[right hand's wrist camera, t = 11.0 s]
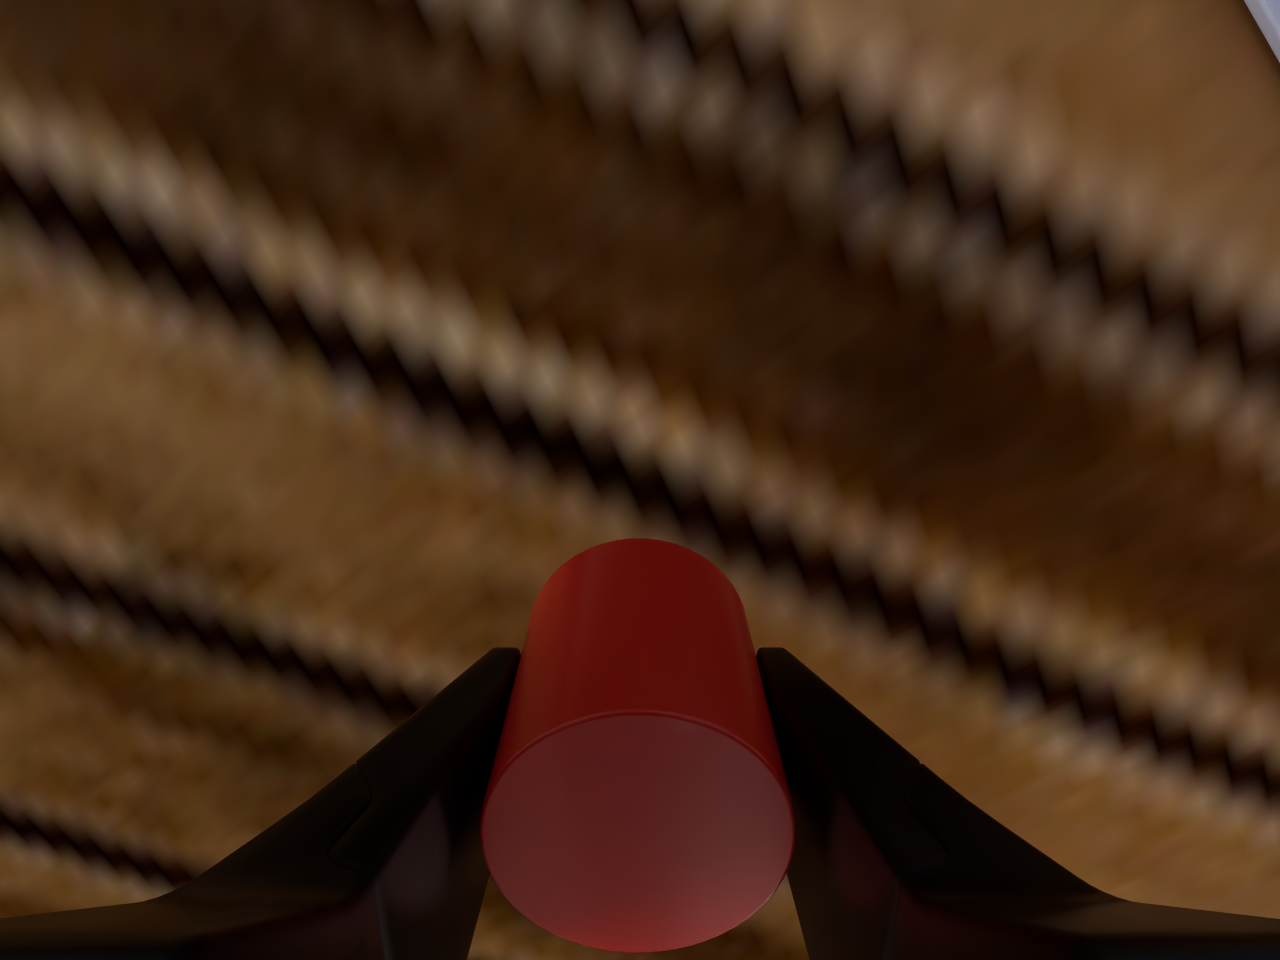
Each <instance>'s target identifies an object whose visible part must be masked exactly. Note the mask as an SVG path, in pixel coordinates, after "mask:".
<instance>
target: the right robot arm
mask: <svg viewBox="0 0 1280 960" xmlns="http://www.w3.org/2000/svg"><path fill="white" fill-rule="evenodd" d="M520 658H521V654H520V651H519V649H518V648H493V649H491V650H490V651H489V652H488V653H486V654H485V655H484V656H483V657H482V658H480V659H479V660H478V661H477V662H476V663H474V664H473V665H472V666H471V667H470V668H468V669H467V670H466V671H465V672H463V673H462V674H461V675H460V676H459V677H457V678H456V679H455V680H454V681H453V682H451V683H450V684H449V685H448V686H447V687H445V688H444V689H443V690H442V691H441V692H439V693H438V694H437V695H436V696H435V697H433V698H432V699H431V700H430V701H428V702H427V703H426V704H425V705H424V706H422V707H421V708H420V709H419V710H418V711H416V712H415V713H414V714H413V715H412V716H410V717H409V718H408V719H407V720H406V721H404V722H403V723H402V724H401V725H400V726H398V727H397V728H396V729H395V730H393V731H392V732H391V733H390V734H389V735H387V736H386V737H385V738H384V739H383V740H381V741H380V742H379V743H378V744H377V745H375V746H374V747H373V748H372V749H371V750H369V751H368V752H367V753H366V754H365V755H363V756H362V757H361V758H360V759H358V760H357V762H356V764H352V765H351V766H350V767H349V768H347V769H346V770H345V771H344V772H343V773H341V774H340V775H339V776H338V777H336V778H335V779H334V780H333V781H331V782H330V783H329V784H328V785H326V786H325V787H324V788H323V789H321V790H320V791H319V792H317V793H316V794H315V795H314V796H312V797H311V798H310V799H309V800H307V801H306V802H304V803H303V804H302V805H300V806H299V807H297V808H296V809H295V810H293V811H292V812H291V813H289V814H288V815H286V816H285V817H284V818H282V819H281V820H279V821H278V822H277V823H275V824H274V825H272V826H271V827H269V828H268V829H266V830H265V831H264V832H262V833H261V834H259V835H258V836H256V837H255V838H253V839H252V840H250V841H249V842H248V843H246V844H245V845H243V846H242V847H240V848H239V849H237V850H236V851H235V852H233V853H232V854H230V855H229V856H227V857H226V858H224V859H223V860H221V861H220V862H219V863H217V864H216V865H214V866H213V867H211V868H210V869H208V870H207V871H205V872H204V873H203V874H201V875H200V876H198V877H197V878H195V879H193V880H192V881H190V882H189V883H187V884H186V885H184V886H182V887H180V888H178V889H176V890H174V891H172V892H170V893H167V894H165V895H162V896H160V897H157V898H154V899H150V900H147V901H143V902H137V903H129V904H121V905H112V906H103V907H95V908H86V909H78V910H69V911H60V912H52V913H43V914H34V915H26V916H17V917H9V918H0V960H467V957H468V953H469V950H470V946H471V942H472V938H473V935H474V931H475V927H476V923H477V920H478V916H479V912H480V908H481V905H482V901H483V897H484V893H485V890H486V886H487V882H488V878H489V875H490V872H489V870H488V868H487V866H486V863H485V860H484V856H483V852H482V849H481V844H480V833H479V826H480V813H481V809H482V805H483V801H484V797H485V794H486V790H487V786H488V782H489V778H490V774H491V770H492V766H493V763H494V759H495V755H496V751H497V747H498V743H499V739H500V735H501V732H502V728H503V724H504V720H505V716H506V712H507V708H508V704H509V701H510V697H511V693H512V689H513V685H514V681H515V677H516V673H517V670H518V666H519V662H520ZM756 659H757V663H758V667H759V671H760V675H761V679H762V683H763V687H764V691H765V695H766V699H767V703H768V707H769V711H770V715H771V719H772V723H773V727H774V731H775V735H776V739H777V743H778V747H779V751H780V755H781V759H782V763H783V767H784V771H785V775H786V779H787V783H788V787H789V791H790V795H791V799H792V803H793V807H794V811H795V816H796V829H797V831H796V841H795V848H794V852H793V855H792V859H791V863H790V866H789V868H788V870H787V876H788V880H789V883H790V887H791V891H792V895H793V899H794V902H795V906H796V910H797V914H798V918H799V921H800V925H801V929H802V933H803V937H804V940H805V944H806V948H807V952H808V955H809V959H810V960H1280V919H1274V918H1265V917H1256V916H1248V915H1239V914H1231V913H1222V912H1214V911H1205V910H1196V909H1188V908H1179V907H1171V906H1162V905H1154V904H1145V903H1137V902H1132V901H1128V900H1124V899H1121V898H1117V897H1115V896H1112V895H1110V894H1107V893H1105V892H1103V891H1101V890H1099V889H1097V888H1095V887H1093V886H1091V885H1089V884H1088V883H1086V882H1085V881H1083V880H1081V879H1080V878H1078V877H1077V876H1075V875H1074V874H1072V873H1071V872H1070V871H1068V870H1067V869H1065V868H1064V867H1062V866H1061V865H1059V864H1058V863H1057V862H1055V861H1054V860H1052V859H1051V858H1049V857H1048V856H1046V855H1045V854H1044V853H1042V852H1041V851H1039V850H1038V849H1036V848H1035V847H1033V846H1032V845H1031V844H1029V843H1028V842H1026V841H1025V840H1023V839H1022V838H1021V837H1019V836H1018V835H1016V834H1015V833H1013V832H1012V831H1010V830H1009V829H1008V828H1006V827H1005V826H1003V825H1002V824H1000V823H999V822H997V821H996V820H995V819H993V818H992V817H991V816H989V815H988V814H986V813H985V812H984V811H982V810H981V809H980V808H978V807H977V806H975V805H974V804H973V803H971V802H970V801H968V800H967V799H966V798H965V797H963V796H962V795H961V794H960V793H958V792H957V791H956V790H954V789H953V788H952V787H951V786H949V785H948V784H947V783H946V782H944V781H943V780H942V779H941V778H939V777H938V776H937V775H936V774H935V773H933V772H932V771H931V770H930V769H929V768H927V767H926V766H925V765H924V764H920V762H919V760H918V759H916V758H915V757H914V756H913V755H912V754H910V753H909V752H908V751H907V750H906V749H904V748H903V747H902V746H901V745H900V744H898V743H897V742H896V741H895V740H894V739H892V738H891V737H890V736H889V735H888V734H886V733H885V732H884V731H883V730H882V729H880V728H879V727H878V726H877V725H876V724H874V723H873V722H872V721H871V720H870V719H868V718H867V717H866V716H865V715H864V714H862V713H861V712H860V711H859V710H858V709H857V708H855V707H854V706H853V705H852V704H851V703H849V702H848V701H847V700H846V699H845V698H843V697H842V696H841V695H840V694H839V693H837V692H836V691H835V690H834V689H833V688H831V687H830V686H829V685H828V684H827V683H825V682H824V681H823V680H822V679H821V678H819V677H818V676H817V675H816V674H815V673H813V672H812V671H811V670H810V669H809V668H807V667H806V666H805V665H804V664H803V663H801V662H800V661H799V660H798V659H797V658H795V657H794V656H793V655H792V654H791V653H789V652H788V651H787V650H786V649H784V648H760V649H758V651H757V654H756Z"/></svg>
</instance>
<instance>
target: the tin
mask: <svg viewBox="0 0 1280 960" xmlns="http://www.w3.org/2000/svg"><path fill="white" fill-rule="evenodd" d="M796 831H797V829H796V816H795V811H794V807H793V803H792V799H791V795H790V791H789V787H788V783H787V779H786V775H785V771H784V767H783V763H782V759H781V755H780V751H779V747H778V743H777V739H776V735H775V731H774V727H773V723H772V719H771V715H770V711H769V707H768V703H767V699H766V695H765V691H764V687H763V683H762V679H761V675H760V671H759V667H758V663H757V659H756V655H755V651H754V647H753V643H752V639H751V635H750V631H749V627H748V623H747V619H746V615H745V611H744V607H743V604H742V602H741V600H740V597H739V595H738V593H737V592H736V590H735V588H734V587H733V585H732V583H731V582H730V581H729V580H728V578H727V577H726V576H725V575H724V574H723V573H722V572H721V571H720V570H719V569H718V568H717V567H716V566H715V565H714V564H712V563H711V562H710V561H708V560H707V559H705V558H704V557H703V556H701V555H699V554H697V553H695V552H693V551H691V550H690V549H687V548H685V547H682V546H679V545H677V544H673V543H669V542H665V541H661V540H653V539H624V540H616V541H612V542H608V543H604V544H600V545H598V546H595V547H592V548H590V549H587V550H586V551H584V552H582V553H580V554H578V555H576V556H574V557H573V558H572V559H570V560H569V561H567V562H566V563H565V564H563V565H562V566H561V567H560V568H559V569H558V570H557V571H556V572H555V573H554V574H553V575H552V576H551V577H550V579H549V580H548V581H547V582H546V583H545V585H544V587H543V588H542V590H541V592H540V593H539V595H538V598H537V600H536V602H535V605H534V608H533V611H532V615H531V619H530V623H529V627H528V631H527V635H526V639H525V642H524V646H523V650H522V654H521V658H520V662H519V666H518V670H517V673H516V677H515V681H514V685H513V689H512V693H511V697H510V701H509V704H508V708H507V712H506V716H505V720H504V724H503V728H502V732H501V735H500V739H499V743H498V747H497V751H496V755H495V759H494V763H493V766H492V770H491V774H490V778H489V782H488V786H487V790H486V794H485V797H484V801H483V805H482V809H481V813H480V826H479V833H480V844H481V849H482V852H483V856H484V860H485V863H486V866H487V868H488V870H489V872H490V875H491V877H492V879H493V880H494V882H495V884H496V885H497V887H498V888H499V890H500V891H501V893H502V894H503V895H504V896H505V897H506V898H507V900H508V901H509V902H510V903H511V904H512V905H513V906H514V907H515V908H516V909H517V910H519V911H520V912H521V913H522V914H523V915H524V916H525V917H527V918H528V919H530V920H531V921H533V922H534V923H536V924H537V925H538V926H540V927H542V928H544V929H546V930H547V931H549V932H551V933H553V934H555V935H557V936H560V937H562V938H565V939H567V940H570V941H572V942H575V943H579V944H582V945H585V946H589V947H593V948H598V949H604V950H609V951H619V952H657V951H667V950H672V949H678V948H683V947H687V946H691V945H694V944H698V943H701V942H704V941H707V940H709V939H711V938H714V937H716V936H719V935H721V934H723V933H725V932H727V931H729V930H730V929H732V928H734V927H736V926H738V925H739V924H740V923H742V922H743V921H745V920H746V919H748V918H749V917H751V916H752V915H753V914H754V913H755V912H756V911H757V910H759V909H760V908H761V907H762V906H763V905H764V904H765V903H766V902H767V901H768V899H769V898H770V897H771V896H772V895H773V894H774V893H775V891H776V890H777V888H778V886H779V885H780V883H781V882H782V880H783V879H784V877H785V874H786V872H787V870H788V868H789V866H790V863H791V859H792V855H793V852H794V848H795V841H796Z"/></svg>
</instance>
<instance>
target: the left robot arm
mask: <svg viewBox="0 0 1280 960" xmlns="http://www.w3.org/2000/svg"><path fill="white" fill-rule="evenodd" d="M1244 2H1245V3H1246V5H1247V7H1248V8H1249V10H1250V12H1251V14H1252V15H1253V17H1254V19H1255V21H1256V22H1257V24H1258V26H1259V28H1260V29H1261V31H1262V33H1263V35H1264V36H1265V38H1266V40H1267V42H1268V43H1269V45H1270V47H1271V49H1272V50H1273V52H1274V54H1275V55H1276V57H1277V59H1278V61H1279V62H1280V0H1244Z"/></svg>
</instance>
